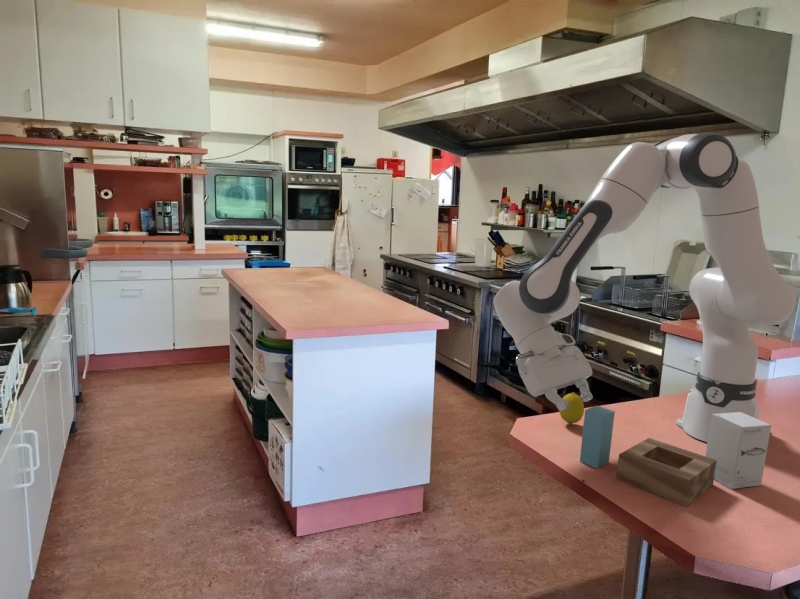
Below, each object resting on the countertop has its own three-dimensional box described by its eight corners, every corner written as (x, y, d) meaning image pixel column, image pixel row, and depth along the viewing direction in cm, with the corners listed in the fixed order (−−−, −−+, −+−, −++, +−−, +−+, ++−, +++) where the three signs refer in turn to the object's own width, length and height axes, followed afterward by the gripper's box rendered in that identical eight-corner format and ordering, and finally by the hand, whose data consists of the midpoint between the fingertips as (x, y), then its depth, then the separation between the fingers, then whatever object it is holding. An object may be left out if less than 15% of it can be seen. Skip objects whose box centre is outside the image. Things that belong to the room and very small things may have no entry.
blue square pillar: (590, 455, 121) (596, 405, 119) (608, 462, 118) (614, 411, 116) (579, 461, 118) (585, 410, 116) (597, 468, 115) (603, 416, 113)
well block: (646, 460, 120) (649, 437, 119) (713, 484, 110) (716, 460, 109) (616, 478, 111) (619, 454, 110) (685, 506, 102) (689, 480, 101)
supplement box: (732, 490, 108) (742, 427, 106) (701, 472, 115) (710, 412, 113) (762, 486, 111) (773, 424, 108) (730, 469, 118) (740, 410, 115)
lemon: (583, 430, 134) (586, 397, 133) (558, 427, 135) (562, 395, 134) (580, 421, 140) (584, 390, 138) (557, 419, 141) (560, 387, 139)
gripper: (522, 347, 116) (560, 407, 111) (576, 335, 130) (612, 388, 125) (503, 363, 120) (538, 422, 115) (557, 349, 134) (591, 402, 129)
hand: (577, 404), depth 120 cm, fingers open, 8 cm apart
